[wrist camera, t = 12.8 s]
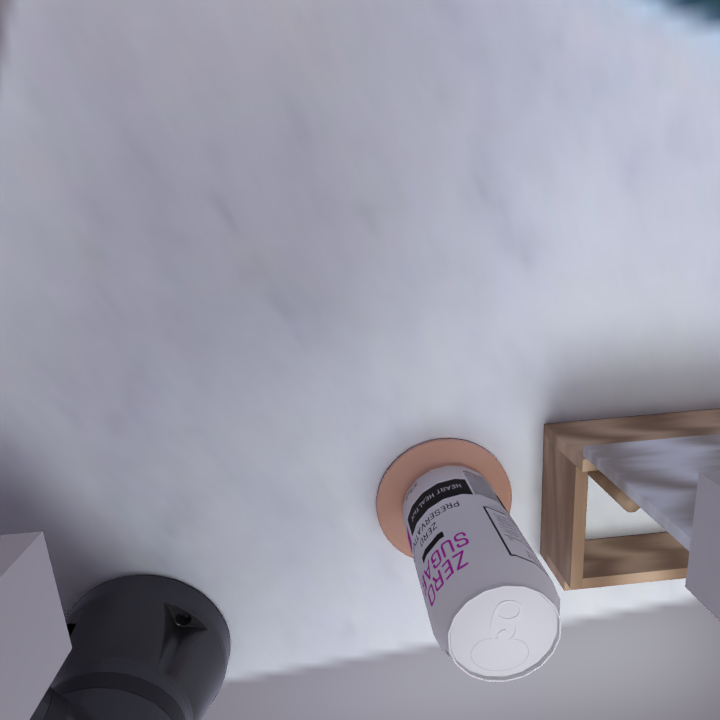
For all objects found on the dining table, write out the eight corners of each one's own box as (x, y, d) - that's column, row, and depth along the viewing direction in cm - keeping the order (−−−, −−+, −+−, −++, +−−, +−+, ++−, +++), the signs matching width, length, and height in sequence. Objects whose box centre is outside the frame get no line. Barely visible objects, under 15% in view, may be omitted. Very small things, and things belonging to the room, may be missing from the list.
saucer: (380, 565, 47) (380, 569, 47) (372, 444, 44) (373, 447, 44) (508, 552, 48) (511, 556, 47) (510, 432, 45) (512, 435, 44)
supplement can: (485, 546, 47) (557, 690, 32) (395, 542, 46) (428, 688, 32) (500, 464, 45) (584, 579, 30) (406, 459, 44) (447, 574, 30)
